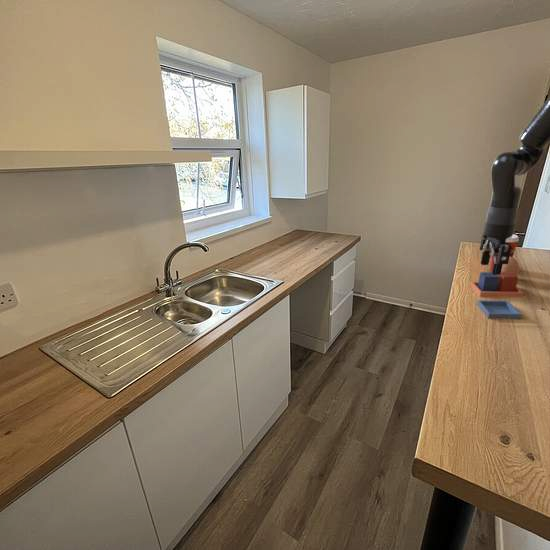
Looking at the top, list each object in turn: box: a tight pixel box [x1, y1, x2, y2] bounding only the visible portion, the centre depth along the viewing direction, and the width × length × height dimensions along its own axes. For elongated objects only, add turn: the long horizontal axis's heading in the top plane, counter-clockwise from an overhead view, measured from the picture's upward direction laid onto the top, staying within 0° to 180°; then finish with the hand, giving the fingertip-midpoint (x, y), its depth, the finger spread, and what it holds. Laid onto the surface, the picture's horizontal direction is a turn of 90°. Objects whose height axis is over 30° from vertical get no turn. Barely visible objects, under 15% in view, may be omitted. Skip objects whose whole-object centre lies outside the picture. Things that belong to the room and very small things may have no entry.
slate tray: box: [476, 299, 523, 320], centre depth 89 cm, size 8×8×2 cm
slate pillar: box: [477, 271, 499, 292], centre depth 101 cm, size 4×4×6 cm
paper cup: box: [490, 233, 520, 271], centre depth 114 cm, size 8×8×14 cm
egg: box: [497, 256, 520, 276], centre depth 107 cm, size 7×7×9 cm
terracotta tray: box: [470, 281, 524, 298], centre depth 101 cm, size 12×8×2 cm
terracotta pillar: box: [496, 272, 519, 292], centre depth 99 cm, size 4×4×6 cm
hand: (489, 269), depth 99 cm, fingers open, 8 cm apart
